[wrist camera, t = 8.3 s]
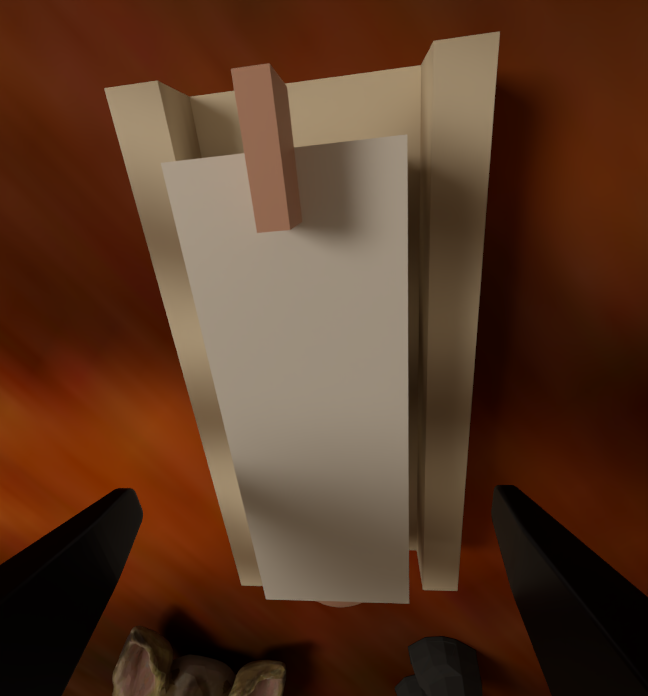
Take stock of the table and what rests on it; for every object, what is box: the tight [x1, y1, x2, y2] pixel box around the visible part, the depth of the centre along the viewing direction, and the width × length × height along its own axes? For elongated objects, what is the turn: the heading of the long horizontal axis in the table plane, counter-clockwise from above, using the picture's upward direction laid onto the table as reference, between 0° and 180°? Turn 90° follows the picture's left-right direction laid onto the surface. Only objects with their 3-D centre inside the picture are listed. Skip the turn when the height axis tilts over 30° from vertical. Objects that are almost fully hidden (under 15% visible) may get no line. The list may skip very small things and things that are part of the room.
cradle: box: [104, 32, 500, 591], centre depth 15 cm, size 20×10×3 cm, turn 5°
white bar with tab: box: [161, 64, 409, 607], centre depth 12 cm, size 17×5×6 cm, turn 5°
